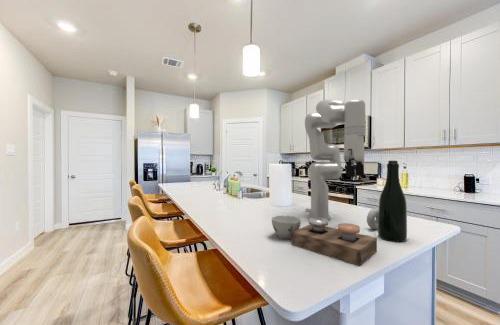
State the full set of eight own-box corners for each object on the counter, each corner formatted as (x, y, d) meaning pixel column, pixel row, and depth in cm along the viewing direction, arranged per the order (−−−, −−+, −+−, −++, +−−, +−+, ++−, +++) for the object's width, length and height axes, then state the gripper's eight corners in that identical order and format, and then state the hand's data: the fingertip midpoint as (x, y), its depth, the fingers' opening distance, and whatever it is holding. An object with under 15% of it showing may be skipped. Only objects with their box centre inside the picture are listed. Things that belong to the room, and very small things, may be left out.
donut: (371, 231, 107) (371, 210, 106) (364, 229, 110) (365, 208, 110) (385, 228, 111) (385, 208, 111) (378, 226, 114) (378, 206, 114)
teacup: (306, 239, 97) (306, 220, 96) (280, 243, 92) (280, 223, 92) (288, 229, 111) (288, 212, 111) (264, 232, 106) (264, 214, 106)
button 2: (334, 241, 84) (334, 226, 84) (342, 236, 89) (343, 222, 89) (354, 246, 79) (355, 230, 78) (362, 241, 84) (362, 226, 84)
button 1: (305, 233, 92) (305, 219, 92) (314, 229, 97) (314, 216, 97) (322, 238, 87) (322, 223, 87) (331, 233, 92) (331, 219, 92)
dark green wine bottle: (405, 236, 100) (406, 160, 100) (407, 244, 91) (408, 160, 91) (378, 232, 106) (379, 160, 105) (377, 239, 97) (378, 160, 96)
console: (291, 244, 92) (291, 231, 91) (312, 234, 103) (312, 223, 103) (360, 265, 73) (360, 250, 73) (376, 251, 84) (376, 237, 84)
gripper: (353, 135, 100) (353, 175, 99) (336, 131, 87) (336, 176, 87) (372, 133, 94) (372, 175, 94) (356, 129, 82) (357, 177, 82)
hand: (355, 176), depth 91 cm, fingers open, 9 cm apart
